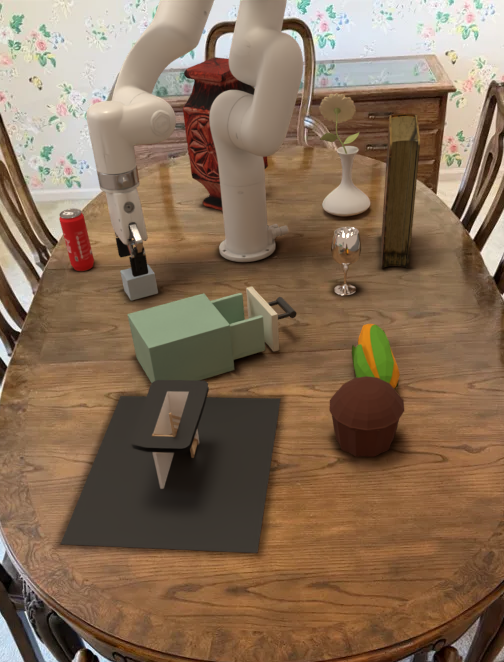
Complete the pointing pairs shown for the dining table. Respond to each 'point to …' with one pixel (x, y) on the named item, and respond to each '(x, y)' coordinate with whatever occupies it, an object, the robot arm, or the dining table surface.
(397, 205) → the book
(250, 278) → the dining table surface
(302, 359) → the dining table surface
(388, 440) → the muffin
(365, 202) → the flower in vase
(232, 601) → the dining table surface
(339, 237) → the wineglass
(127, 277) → the carton
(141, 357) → the cabinet
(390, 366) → the corn
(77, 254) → the beverage can
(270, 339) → the drawer
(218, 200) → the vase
